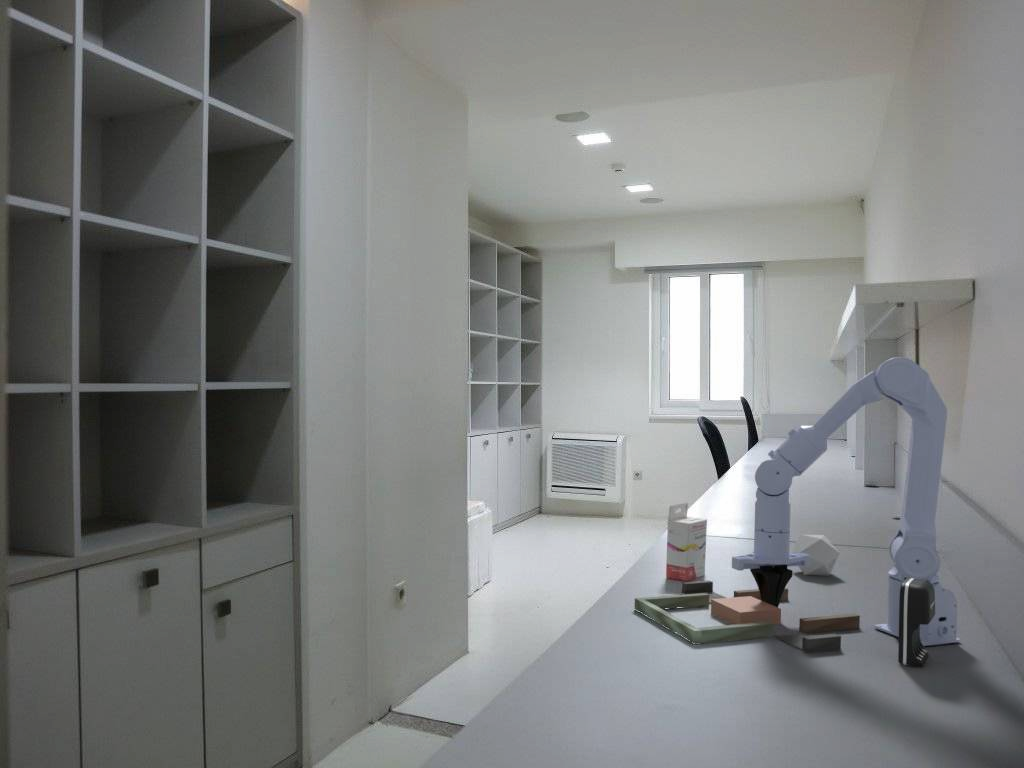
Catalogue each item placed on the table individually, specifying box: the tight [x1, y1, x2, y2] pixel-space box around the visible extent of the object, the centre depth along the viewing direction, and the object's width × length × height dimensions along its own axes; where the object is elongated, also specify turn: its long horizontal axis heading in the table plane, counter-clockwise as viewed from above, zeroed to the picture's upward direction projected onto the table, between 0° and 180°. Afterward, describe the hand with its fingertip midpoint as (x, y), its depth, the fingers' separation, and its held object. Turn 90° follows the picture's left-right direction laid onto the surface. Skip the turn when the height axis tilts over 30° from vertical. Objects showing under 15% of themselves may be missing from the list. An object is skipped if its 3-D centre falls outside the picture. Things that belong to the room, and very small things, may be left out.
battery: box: [897, 578, 935, 668], centre depth 108 cm, size 7×4×11 cm, turn 143°
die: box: [791, 533, 840, 577], centre depth 161 cm, size 8×9×10 cm
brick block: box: [710, 596, 782, 626], centre depth 127 cm, size 8×8×3 cm
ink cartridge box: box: [665, 502, 708, 582], centre depth 155 cm, size 9×5×15 cm, turn 141°
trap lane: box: [634, 580, 861, 654], centre depth 127 cm, size 34×31×2 cm
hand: (770, 610), depth 129 cm, fingers closed
